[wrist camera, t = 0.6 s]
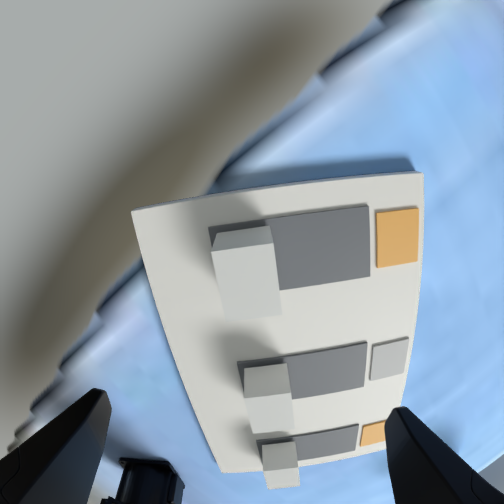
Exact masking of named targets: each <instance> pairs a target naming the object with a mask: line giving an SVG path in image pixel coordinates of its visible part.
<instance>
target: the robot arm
mask: <svg viewBox="0 0 504 504" xmlns="http://www.w3.org/2000/svg"><path fill="white" fill-rule="evenodd" d="M111 411H112V408H111V404H110V401H109V398H108V395H107V393H106V391H105V390H101V389H97V388H93V389H91V390H90V391H89V392H87V393H86V394H85V395H84V396H82V397H81V398H80V399H78V400H77V401H76V402H75V403H73V404H72V405H71V406H70V407H68V408H67V409H66V410H64V411H63V412H62V413H61V414H59V415H58V416H57V417H56V418H54V419H53V420H52V421H50V422H49V423H48V424H47V425H45V426H44V427H43V428H41V429H40V430H39V431H38V432H36V433H35V434H34V435H33V436H31V437H30V438H29V439H27V440H26V441H25V442H24V443H22V444H21V445H20V446H19V447H17V448H16V449H14V450H13V451H12V452H11V453H9V454H8V455H6V456H5V457H4V458H2V459H1V460H0V504H87V501H88V498H89V495H90V491H91V488H92V485H93V482H94V478H95V475H96V472H97V469H98V466H99V463H100V460H101V457H102V453H103V449H104V445H105V440H106V435H107V430H108V426H109V421H110V417H111ZM384 431H385V441H386V450H387V461H388V468H389V474H390V479H391V483H392V488H393V494H394V499H395V504H504V494H503V493H501V492H500V491H499V490H497V489H496V488H495V487H493V486H492V485H491V484H489V483H488V482H487V481H486V480H485V479H484V478H482V477H481V476H480V475H479V474H478V473H477V472H476V471H475V470H474V469H472V468H471V467H470V466H469V465H468V464H467V463H466V462H465V461H464V460H463V459H462V458H461V457H460V456H458V455H457V454H456V453H455V452H454V451H453V450H452V449H451V448H450V447H449V446H448V445H447V444H446V443H444V442H443V441H442V440H441V439H440V438H439V437H438V436H437V435H436V434H435V433H434V432H433V431H432V430H431V429H429V428H428V427H427V426H426V425H425V424H424V423H423V422H422V421H421V420H420V419H419V418H418V417H417V416H416V415H415V414H413V413H412V412H411V411H410V410H409V409H408V408H407V407H404V406H402V407H395V408H393V410H392V411H391V413H390V415H389V416H388V418H387V420H386V421H385V424H384ZM119 463H120V464H121V466H122V467H123V468H124V470H123V474H122V477H121V480H120V484H119V487H118V491H117V494H116V498H115V499H113V498H112V497H110V496H109V497H108V499H102V500H101V503H100V504H181V502H182V495H183V489H184V488H185V485H184V483H183V481H182V480H181V478H180V477H179V475H178V474H177V473H176V472H175V470H174V469H173V467H172V466H171V464H170V463H169V462H165V461H148V460H136V459H126V458H119Z"/></svg>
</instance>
